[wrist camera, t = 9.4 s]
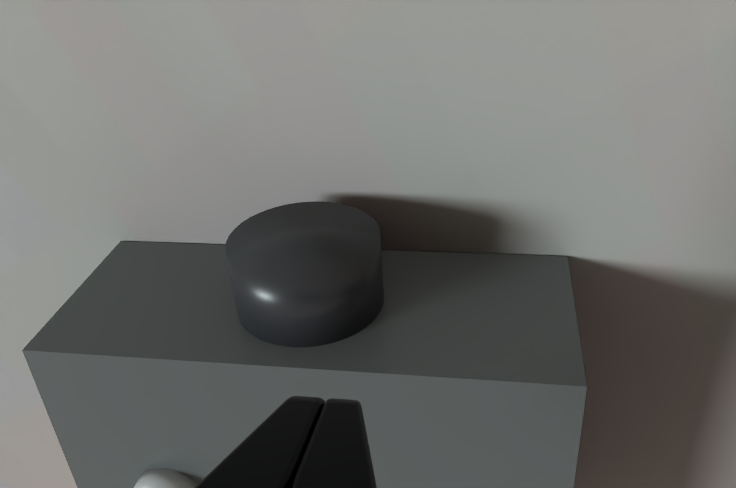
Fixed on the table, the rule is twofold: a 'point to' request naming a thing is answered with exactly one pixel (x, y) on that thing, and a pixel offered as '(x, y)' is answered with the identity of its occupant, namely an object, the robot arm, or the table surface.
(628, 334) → the table surface
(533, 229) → the table surface
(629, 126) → the table surface
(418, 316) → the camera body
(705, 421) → the table surface
